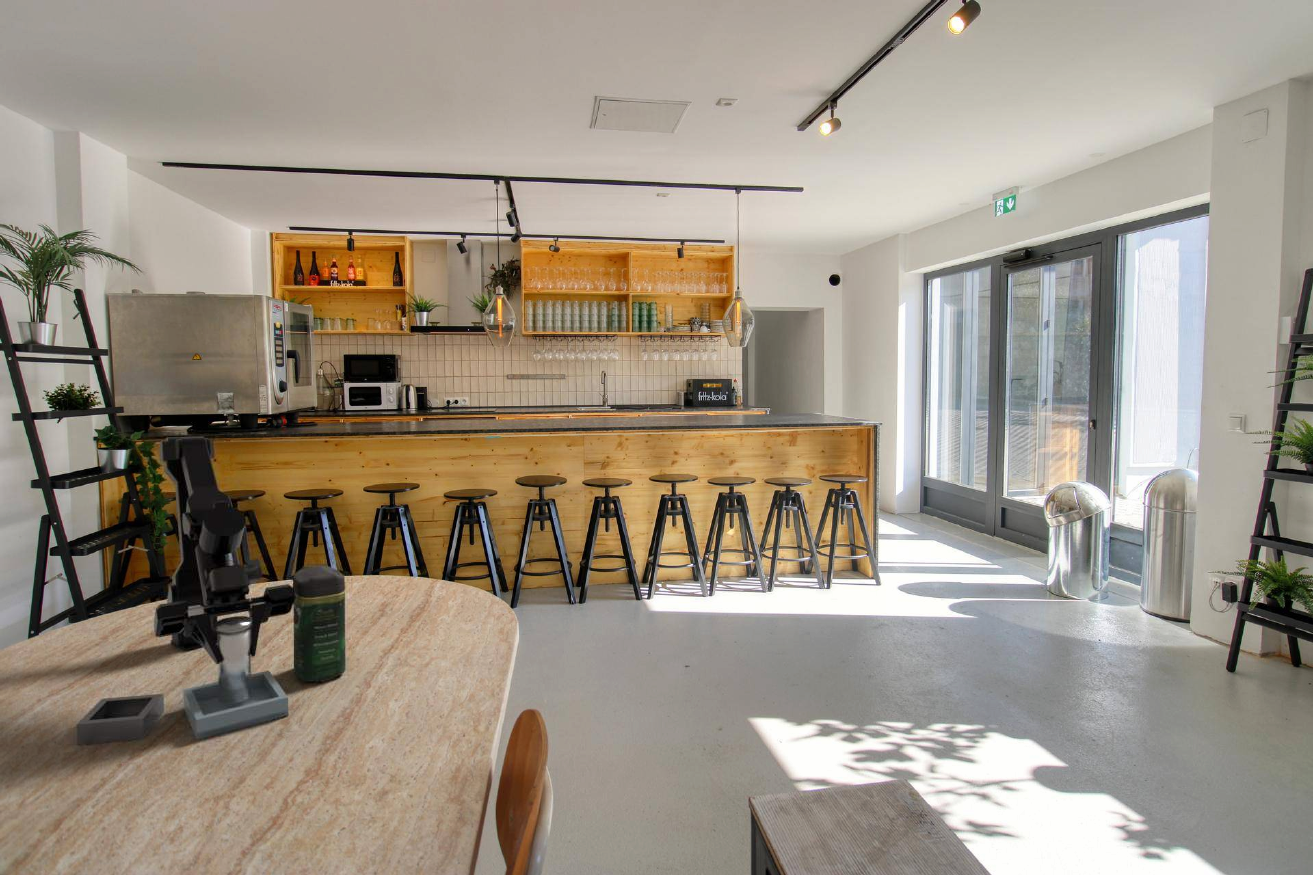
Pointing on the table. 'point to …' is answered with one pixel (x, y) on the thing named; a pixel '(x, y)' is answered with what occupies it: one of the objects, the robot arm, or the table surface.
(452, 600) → the table surface
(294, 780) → the table surface
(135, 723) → the grey square tray
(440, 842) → the table surface
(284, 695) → the parts tray
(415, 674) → the table surface
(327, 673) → the coffee jar
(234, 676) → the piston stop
